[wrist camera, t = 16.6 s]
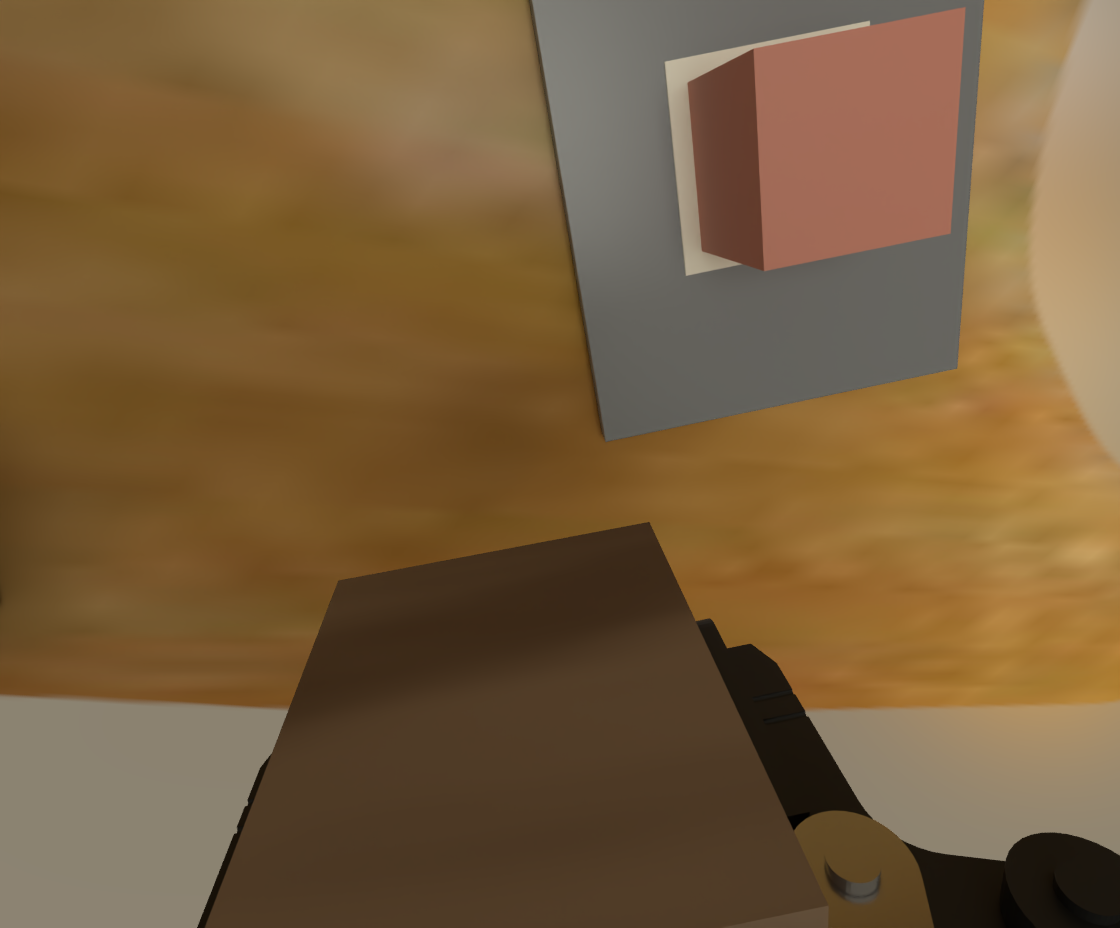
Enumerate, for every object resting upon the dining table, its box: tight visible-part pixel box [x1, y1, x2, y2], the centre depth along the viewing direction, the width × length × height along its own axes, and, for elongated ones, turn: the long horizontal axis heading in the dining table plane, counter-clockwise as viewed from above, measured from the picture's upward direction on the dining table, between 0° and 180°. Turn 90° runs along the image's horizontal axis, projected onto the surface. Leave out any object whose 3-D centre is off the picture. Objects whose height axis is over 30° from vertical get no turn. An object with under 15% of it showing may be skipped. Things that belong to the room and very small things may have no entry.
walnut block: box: [205, 522, 829, 928], centre depth 9 cm, size 5×5×6 cm
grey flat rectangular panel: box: [529, 0, 984, 442], centre depth 23 cm, size 19×15×1 cm
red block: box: [687, 7, 966, 271], centre depth 20 cm, size 6×6×6 cm
